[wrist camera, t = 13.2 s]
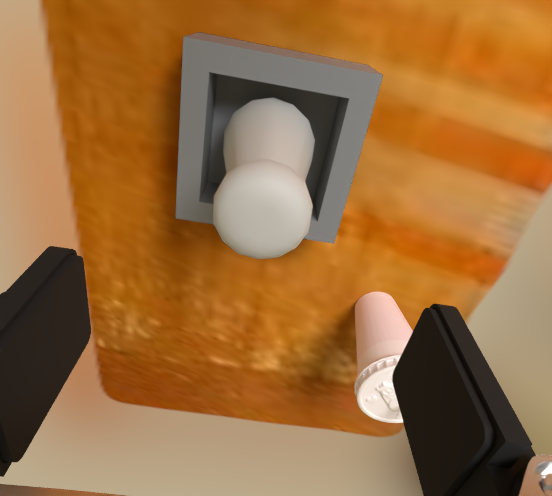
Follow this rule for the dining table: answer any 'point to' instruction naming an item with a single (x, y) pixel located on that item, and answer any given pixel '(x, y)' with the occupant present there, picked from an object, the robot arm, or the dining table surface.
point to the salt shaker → (265, 180)
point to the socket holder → (284, 86)
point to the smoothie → (379, 354)
